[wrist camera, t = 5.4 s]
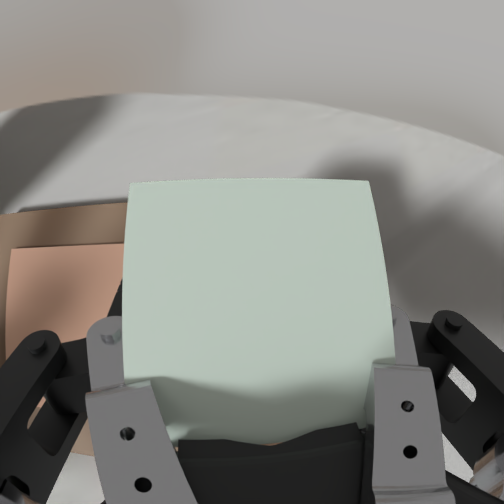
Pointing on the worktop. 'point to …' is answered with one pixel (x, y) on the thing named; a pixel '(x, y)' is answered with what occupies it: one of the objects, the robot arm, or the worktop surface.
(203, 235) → the pale mint tall block
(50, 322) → the terracotta pad
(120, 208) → the walnut board
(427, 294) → the worktop surface
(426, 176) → the worktop surface
